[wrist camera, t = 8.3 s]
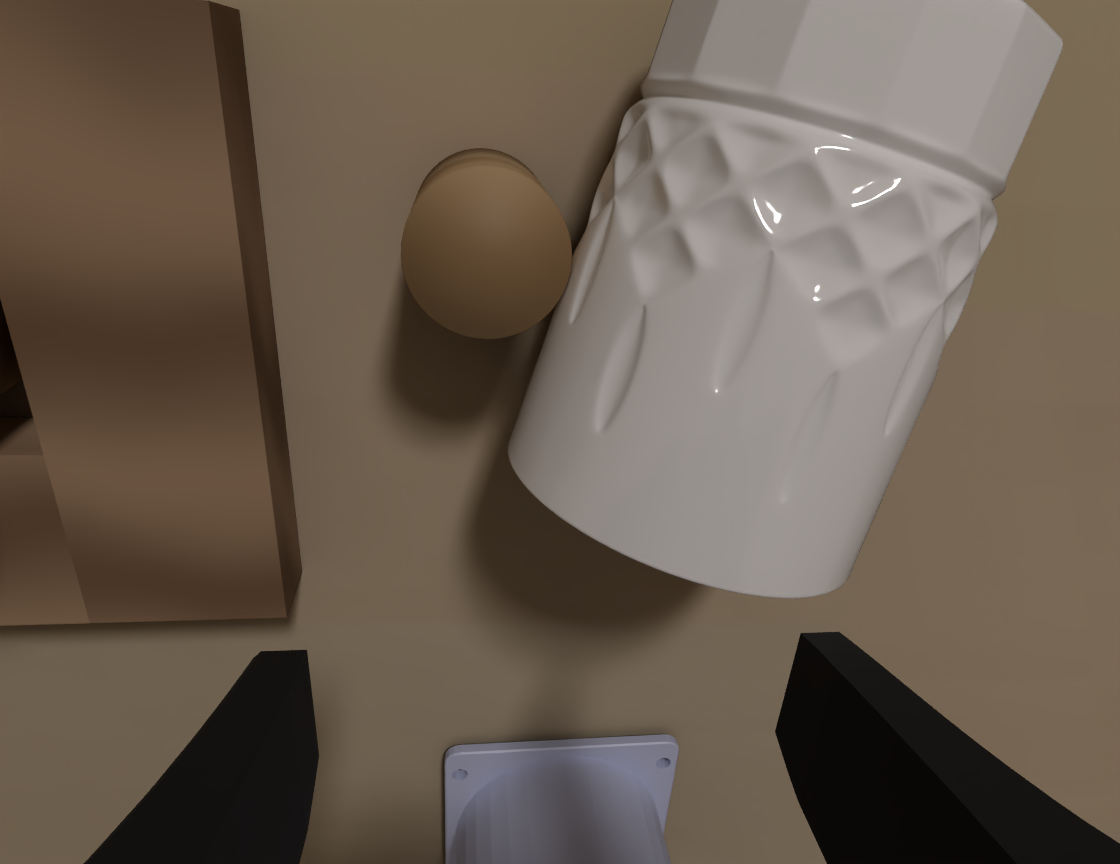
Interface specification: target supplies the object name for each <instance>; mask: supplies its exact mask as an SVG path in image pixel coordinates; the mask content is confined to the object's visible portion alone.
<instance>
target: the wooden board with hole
mask: <svg viewBox="0 0 1120 864" xmlns="http://www.w3.org/2000/svg"><path fill="white" fill-rule="evenodd" d="M0 299H1V303H2V306H3V310H4V314H5V317H6V321H7V325H8V328H9V332H10V335H11V339H12V343H13V346H14V350H15V354H16V357H17V361H18V364H19V368H20V372H21V375H22V379H23V383H24V386H25V390H26V394H27V397H28V401H29V404H30V408H31V412H32V415H33V418H0V626H8V625H43V624H79V623H115V622H150V621H186V620H221V619H257V618H287V616H288V612H289V609H290V606H291V603H292V600H293V597H294V594H295V591H296V588H297V585H298V582H299V579H300V576H301V573H302V567H301V558H300V549H299V540H298V531H297V522H296V513H295V505H294V496H293V487H292V478H291V469H290V460H289V451H288V442H287V433H286V424H285V415H284V406H283V397H282V388H281V379H280V370H279V361H278V353H277V344H276V335H275V326H274V317H273V308H272V299H271V290H270V281H269V272H268V263H267V254H266V245H265V236H264V227H263V218H262V210H261V201H260V192H259V183H258V174H257V165H256V156H255V147H254V138H253V129H252V120H251V111H250V102H249V93H248V84H247V75H246V67H245V58H244V49H243V40H242V31H241V22H240V13H239V10H238V9H234V8H231V7H227V6H224V5H221V4H217V3H214V2H210V1H203V0H0Z"/></svg>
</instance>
